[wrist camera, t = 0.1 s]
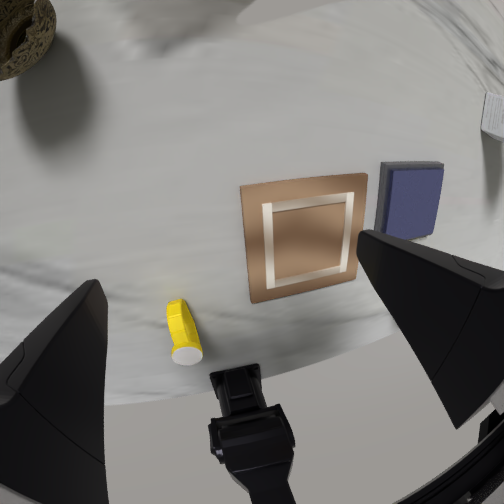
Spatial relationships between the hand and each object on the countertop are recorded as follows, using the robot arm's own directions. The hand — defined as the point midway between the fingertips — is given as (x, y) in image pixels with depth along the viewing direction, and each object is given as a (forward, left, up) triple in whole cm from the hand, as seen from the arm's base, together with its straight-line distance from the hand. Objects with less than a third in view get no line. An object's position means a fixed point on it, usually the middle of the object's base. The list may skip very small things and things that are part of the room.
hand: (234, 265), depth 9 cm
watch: (-14, +4, -15) cm, 21 cm away
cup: (+14, +12, -15) cm, 24 cm away
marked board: (-8, -9, -15) cm, 19 cm away
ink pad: (-6, -21, -15) cm, 27 cm away
